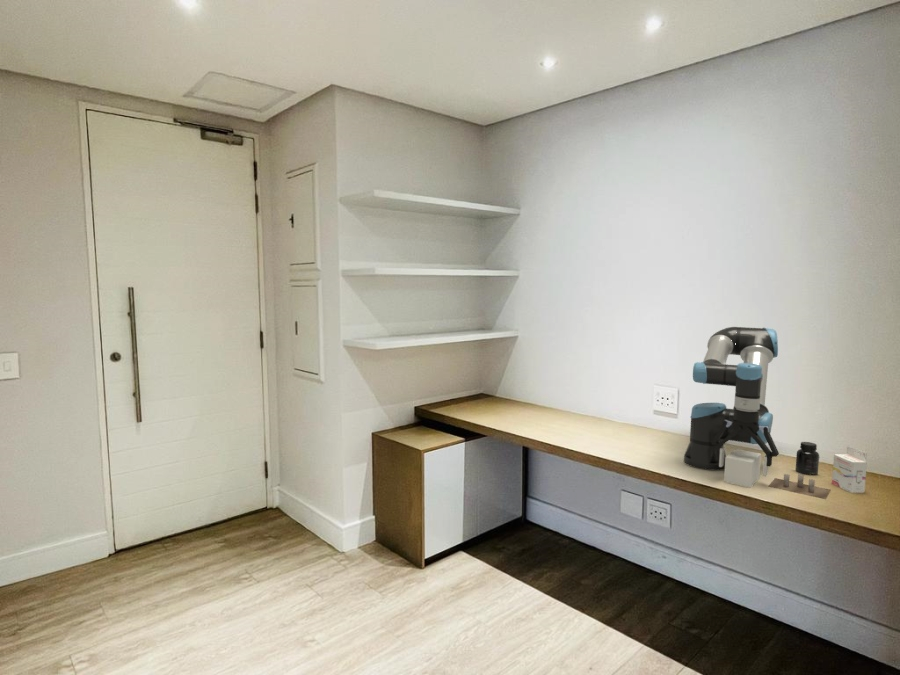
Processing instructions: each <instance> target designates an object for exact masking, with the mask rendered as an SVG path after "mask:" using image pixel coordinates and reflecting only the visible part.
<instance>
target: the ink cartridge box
mask: <svg viewBox="0 0 900 675" xmlns="http://www.w3.org/2000/svg"><path fill="white" fill-rule="evenodd" d="M854 452H855V453H854ZM867 455H868V454H867V452H866V451H863V450H861V449H858V448H856V447H853V446H850V445H847V446H846V453H841V454H840V453H839V454H838V453H837V454H836V453H834V454H833V465H832V476H831V484H832V485H833V486H837V487H838V488H841V489H843V490H844V491H847V492H849V493H851V494H855V493H856V494H857V493H858V494H859V493H860V494H861V493H865V490H866V489H865V488H866V477H867V468H868V467H867V466H868V462H867V460H868V459H867V457H868V456H867Z"/></svg>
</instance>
